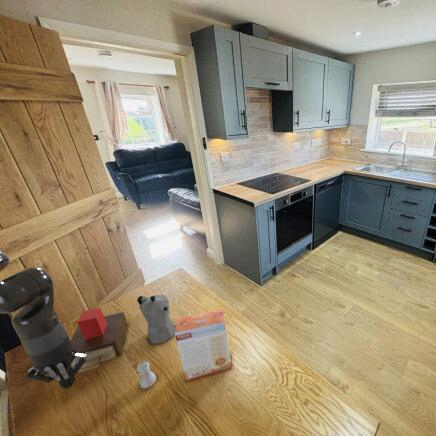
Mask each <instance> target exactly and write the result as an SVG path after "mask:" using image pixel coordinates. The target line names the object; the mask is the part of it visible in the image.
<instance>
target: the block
mask: <svg viewBox="0 0 436 436" xmlns="http://www.w3.org/2000/svg"><path fill="white" fill-rule="evenodd" d="M76 323H77V326H78V325H79V327H80V329H81V332H82V334H83V336H84V338H85V340H86V339H89V338H93V337H97V336H101V335H103V333H104V331H105V328H106V325H107V324H106V321H105V319H104V313H103V311H102V309H101V307H96V308H91V309H88V310H83V311H82V312H81V314H80V316H79V318H78V319H77V321H76Z"/></svg>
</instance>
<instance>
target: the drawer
mask: <svg viewBox="0 0 436 436" xmlns="http://www.w3.org/2000/svg"><path fill="white" fill-rule="evenodd" d="M87 352H89V353H88V356H87V359H86V361H85V362H84V364H83V365H82V367H81V368H80V370H79V371H78V372H77V374H76V375H78V374H82V373H84V372H88V371H92V370H95V369H98V368H100V367H101V363H103V362H106V361H109V360H112V359H116V358H117V357H118V356H117V354H116V351H115V349H114V346H113V345H109V346H105V347H102V348H98V349H95V350H91V351H87ZM81 354H83V353H81ZM116 356H117V357H116ZM76 363H77V362H76V359H74V360H73V362H72V364H71V365H72V368H73V367H74V366H75V364H76Z"/></svg>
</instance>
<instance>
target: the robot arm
mask: <svg viewBox="0 0 436 436" xmlns="http://www.w3.org/2000/svg"><path fill="white" fill-rule="evenodd" d="M10 263H11V260H10V258H9V256H7V255H6V254H5V253H4V252H2V251H1V250H0V273H1V272H2V271H4V270H5V269H6V268H7V267H8V266H9V264H10ZM54 287H55V286H54V281H53V278H52V277H51V274H50V273H49V272H47V270H44V269H43V268H40V267H35V266H32V267H27V268H24V269H22V270H20V271H18V272H16V273H13V274H12V275H10V276H8V277H7V278H4V279H2V280H0V314H11V313H15V314H14V315H13V317H12V318H11V324H12V326H13V328H14V330H15V332H16V334H17V336H18V337H19V339H20V342H21V345H22V347H23V349H24V351H25V352H26V354H27V356H28V358H29V360H30V361H31V363H32V366H30V368H29V369H28V371H27V373H26V374H25V378H28V379H32V380H35V381H41V382H43V383H49V384H50V383H51V382H52V381H55V382H57V383H58V384H59V386H60V387H61V388H63V389H64V390H65V389H69V388H72V387H73V385H74V384H75V381H76V375H78V374H77V372H78V371H79V370H80V368H81V367H82V365H83V364H84V362H85V361H86V359H87V356H88V353H89V352H84V353H83V354H81V353H77V351H76V350H75V349H73V347H72V343H71V338H70V337H69V334H68V332H67V329H66V328H65V326H64V324H63V323H62V321H61V320H60V317H59V316H58V314H57V312H56V310H55V291H54V290H55V288H54ZM74 359H76V362H77V363H76V364H75V366H74V367H73V368H72V365H71V364H72V362H73V360H74Z"/></svg>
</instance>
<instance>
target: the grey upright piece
mask: <svg viewBox="0 0 436 436" xmlns="http://www.w3.org/2000/svg"><path fill="white" fill-rule="evenodd" d="M136 302H137V303H138V305H139V306H138V308H139V310H140V312H141V314H142V315H143V317H144V319H145V321H146V323H147V338H148V339H149V342H150V343H151V344H155V345H157V344H163V343H165V342H167V341H168V340H170V339H171V338H172V337H173V336H174V335H175V329H176V327H175V326H174V324H173V322H172V320H171V318H170V300H169V298H168V297H167V296H166V295H165V294H155V295H151V296H150V297H146V296H143V295H140V296H138V297H137V299H136Z"/></svg>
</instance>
